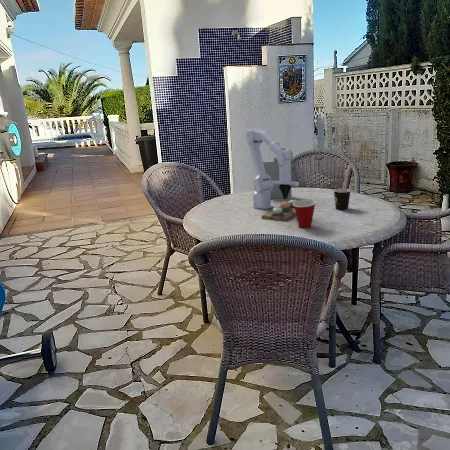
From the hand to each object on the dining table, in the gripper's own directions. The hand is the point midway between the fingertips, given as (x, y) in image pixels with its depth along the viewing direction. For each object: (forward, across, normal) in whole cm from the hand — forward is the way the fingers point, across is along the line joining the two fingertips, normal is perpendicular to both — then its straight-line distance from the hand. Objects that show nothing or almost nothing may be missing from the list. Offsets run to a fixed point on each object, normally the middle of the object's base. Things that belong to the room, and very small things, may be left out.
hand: (285, 198), depth 224 cm
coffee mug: (+8, +23, +21) cm, 32 cm away
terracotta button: (+4, 0, 0) cm, 4 cm away
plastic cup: (+8, +19, -18) cm, 27 cm away
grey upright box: (+8, -22, +32) cm, 40 cm away
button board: (+8, 0, 0) cm, 8 cm away
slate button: (+5, 0, +9) cm, 10 cm away
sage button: (+5, 0, -9) cm, 10 cm away
